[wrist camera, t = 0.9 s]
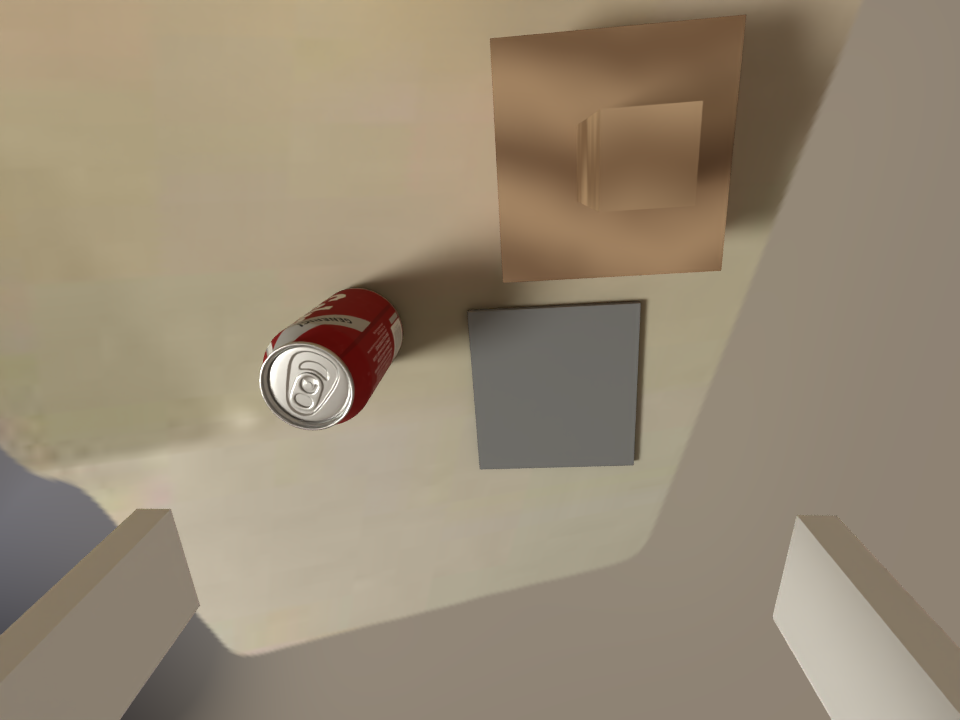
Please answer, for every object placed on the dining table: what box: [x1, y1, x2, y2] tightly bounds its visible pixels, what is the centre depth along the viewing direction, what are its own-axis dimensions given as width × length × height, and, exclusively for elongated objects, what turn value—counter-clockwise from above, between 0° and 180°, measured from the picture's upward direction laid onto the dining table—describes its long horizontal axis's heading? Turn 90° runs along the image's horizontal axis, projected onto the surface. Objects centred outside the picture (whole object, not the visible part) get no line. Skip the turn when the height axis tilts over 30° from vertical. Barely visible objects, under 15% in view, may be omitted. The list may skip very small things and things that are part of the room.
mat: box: [467, 301, 641, 469], centre depth 41 cm, size 14×13×1 cm
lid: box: [490, 15, 746, 283], centre depth 25 cm, size 13×13×9 cm
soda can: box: [259, 288, 403, 430], centre depth 35 cm, size 7×7×12 cm
